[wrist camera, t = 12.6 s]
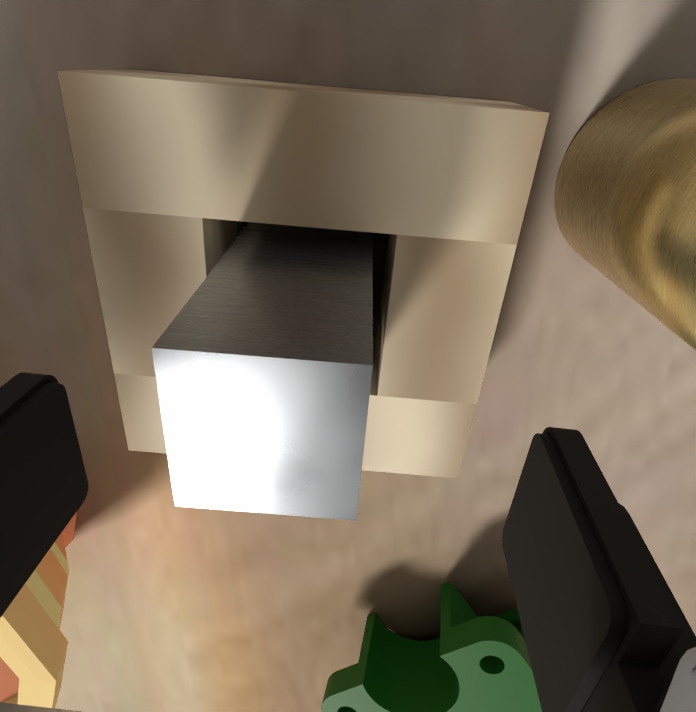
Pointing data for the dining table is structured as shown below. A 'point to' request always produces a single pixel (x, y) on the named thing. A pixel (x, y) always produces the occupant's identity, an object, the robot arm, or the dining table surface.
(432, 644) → the clamp
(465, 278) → the socket block
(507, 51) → the dining table surface
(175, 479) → the square bit
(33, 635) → the potted cactus
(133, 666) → the dining table surface
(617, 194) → the round bit
